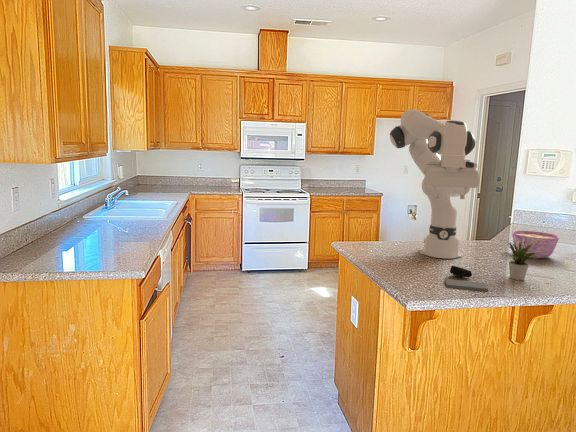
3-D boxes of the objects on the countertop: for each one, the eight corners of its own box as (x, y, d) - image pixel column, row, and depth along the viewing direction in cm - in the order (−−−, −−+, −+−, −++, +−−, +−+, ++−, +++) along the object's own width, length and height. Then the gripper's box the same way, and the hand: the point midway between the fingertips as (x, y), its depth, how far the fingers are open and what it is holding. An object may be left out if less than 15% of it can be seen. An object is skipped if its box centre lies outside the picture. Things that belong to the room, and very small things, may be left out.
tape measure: (459, 277, 165) (461, 267, 165) (445, 273, 171) (447, 264, 171) (470, 279, 168) (473, 270, 168) (456, 276, 174) (458, 267, 174)
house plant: (495, 280, 167) (500, 239, 165) (492, 271, 180) (496, 233, 178) (537, 285, 163) (542, 243, 160) (530, 275, 175) (535, 236, 173)
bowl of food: (509, 258, 204) (511, 235, 203) (509, 251, 222) (512, 229, 220) (558, 265, 195) (561, 240, 193) (554, 256, 213) (557, 233, 211)
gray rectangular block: (444, 281, 164) (445, 278, 164) (484, 285, 160) (484, 282, 160) (446, 287, 157) (447, 284, 156) (488, 291, 153) (488, 288, 153)
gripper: (424, 162, 166) (422, 197, 168) (481, 164, 161) (478, 200, 163) (424, 161, 172) (421, 196, 174) (478, 163, 167) (475, 199, 169)
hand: (449, 198), depth 168 cm, fingers open, 8 cm apart
